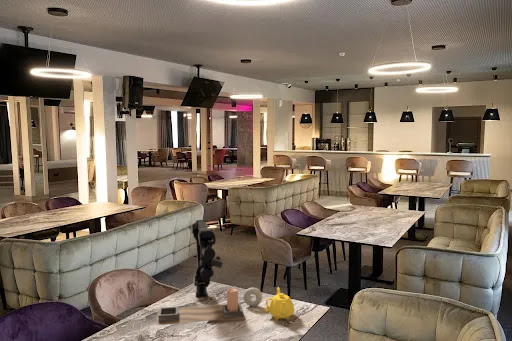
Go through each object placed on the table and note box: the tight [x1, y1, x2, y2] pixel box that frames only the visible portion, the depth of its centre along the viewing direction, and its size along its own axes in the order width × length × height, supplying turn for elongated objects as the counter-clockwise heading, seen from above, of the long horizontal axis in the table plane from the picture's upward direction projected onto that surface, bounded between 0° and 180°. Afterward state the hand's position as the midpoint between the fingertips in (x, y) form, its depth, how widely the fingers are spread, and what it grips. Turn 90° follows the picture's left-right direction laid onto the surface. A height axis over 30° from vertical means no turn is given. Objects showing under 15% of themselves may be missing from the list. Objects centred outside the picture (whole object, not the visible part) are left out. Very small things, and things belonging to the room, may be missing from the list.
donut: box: [242, 287, 263, 307], centre depth 216 cm, size 10×4×10 cm, turn 89°
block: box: [226, 287, 239, 312], centre depth 203 cm, size 4×4×12 cm
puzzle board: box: [155, 303, 246, 326], centre depth 204 cm, size 17×42×4 cm, turn 100°
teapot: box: [264, 286, 295, 321], centre depth 204 cm, size 20×15×12 cm
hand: (206, 283), depth 213 cm, fingers open, 9 cm apart
